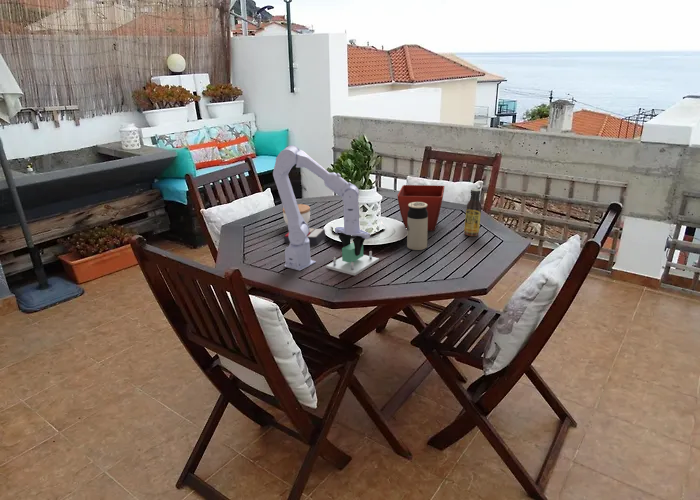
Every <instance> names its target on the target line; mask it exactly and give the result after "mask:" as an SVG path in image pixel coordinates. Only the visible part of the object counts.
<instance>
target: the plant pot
mask: <svg viewBox="0 0 700 500" xmlns="http://www.w3.org/2000/svg"><path fill="white" fill-rule="evenodd" d="M444 192H445V185H437V184H436V185H430V184H427V185H425V184H423V185H422V184H420V185H419V184H418V185H417V184H404V185H403V184H402V186H401V188H400V190H399V191H398V194H397V204H398V208H399V211H400V216H401V220H402V223H403V226H404V229H405V228H407V219H408V211H409V206H408V204H409V203H412V202H424V203H426V204H427V208H426V210H427V212H428V228H427V232H428V231H429V232H434V231H435V230H436V227H437V224H438V220H439V216H440V211H441V207H442V204H443V200H444V199H443V198H444Z"/></svg>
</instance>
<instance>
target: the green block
mask: <svg viewBox="0 0 700 500" xmlns="http://www.w3.org/2000/svg"><path fill="white" fill-rule="evenodd" d="M363 255H364V244H363V245H362V248H361V252H360V255H358V256H356V255H355V246H354V242H353V241H352V242H350V244H349V245H347V246H345V247H344V246H343V247H342V248H341V257H342V261H345V262H349V263H351V262H354V261H356V260H357V259H359V258H361V257H363Z"/></svg>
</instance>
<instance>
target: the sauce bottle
mask: <svg viewBox="0 0 700 500" xmlns="http://www.w3.org/2000/svg"><path fill="white" fill-rule="evenodd" d="M481 192H482V190H481V189H480V188H471V189H470V197H469V198H470V199H469V201H468V202H467V204H466V210H465V219H464V227H463V234H464V235H465V236H467V237H477V236H478V235H479V232H480V226H481V219H482V218H481V217H482V203H481V202H480V201H481V200H480V197H481Z"/></svg>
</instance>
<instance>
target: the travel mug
mask: <svg viewBox="0 0 700 500" xmlns="http://www.w3.org/2000/svg"><path fill="white" fill-rule="evenodd" d="M408 206H409V211H408V219H407V233H406V234H407V235H406V237H407V240H406V241H407V242H406V244H407V245H406V246H407V247H406V248H408V249H409V250H412V251H423V250H425V249H427V248H428V231H427V228H428V212H427V210H426V208H427V204H426V203H424V202H412V203H409V204H408Z"/></svg>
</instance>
